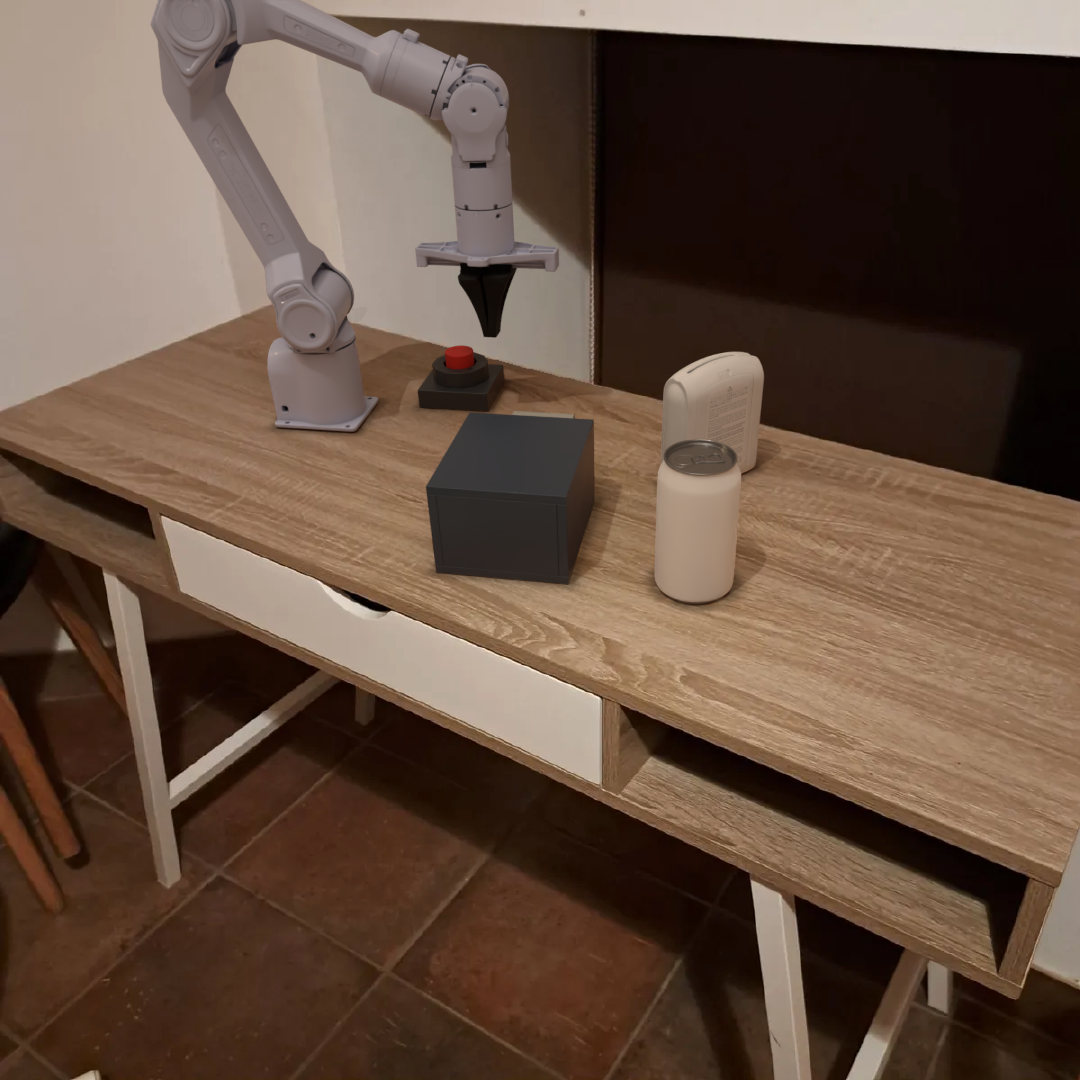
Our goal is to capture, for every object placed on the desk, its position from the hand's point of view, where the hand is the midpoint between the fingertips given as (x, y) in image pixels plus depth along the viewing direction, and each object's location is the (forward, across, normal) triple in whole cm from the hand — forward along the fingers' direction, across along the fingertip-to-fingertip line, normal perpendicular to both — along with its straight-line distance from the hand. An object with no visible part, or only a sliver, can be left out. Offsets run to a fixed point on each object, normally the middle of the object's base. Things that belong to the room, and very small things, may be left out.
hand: (492, 333), depth 107 cm
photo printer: (+9, +24, -11) cm, 28 cm away
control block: (+9, -5, +4) cm, 11 cm away
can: (+9, +24, -29) cm, 39 cm away
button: (+6, -5, +4) cm, 9 cm away
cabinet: (+9, +8, -24) cm, 27 cm away
